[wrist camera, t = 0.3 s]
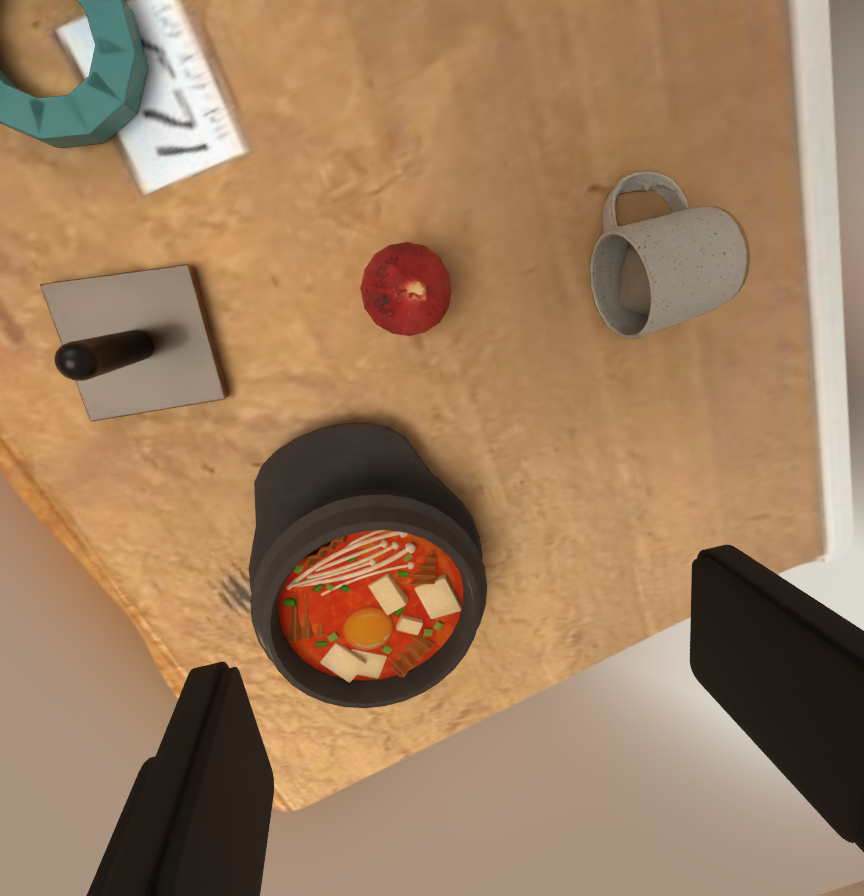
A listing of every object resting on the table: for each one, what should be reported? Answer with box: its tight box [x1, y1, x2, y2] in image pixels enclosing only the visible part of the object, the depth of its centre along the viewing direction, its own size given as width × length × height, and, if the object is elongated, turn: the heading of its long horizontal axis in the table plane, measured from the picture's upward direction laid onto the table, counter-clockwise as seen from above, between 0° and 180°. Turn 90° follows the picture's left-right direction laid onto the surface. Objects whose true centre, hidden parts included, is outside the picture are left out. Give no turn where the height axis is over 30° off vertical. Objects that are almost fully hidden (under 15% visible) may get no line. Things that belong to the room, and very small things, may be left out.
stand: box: [40, 264, 229, 421], centre depth 30 cm, size 9×9×10 cm
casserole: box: [249, 423, 487, 708], centre depth 38 cm, size 25×19×8 cm
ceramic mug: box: [590, 171, 750, 339], centre depth 35 cm, size 11×8×8 cm
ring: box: [0, 0, 148, 148], centre depth 28 cm, size 10×10×2 cm
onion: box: [361, 242, 452, 336], centre depth 33 cm, size 6×6×8 cm
